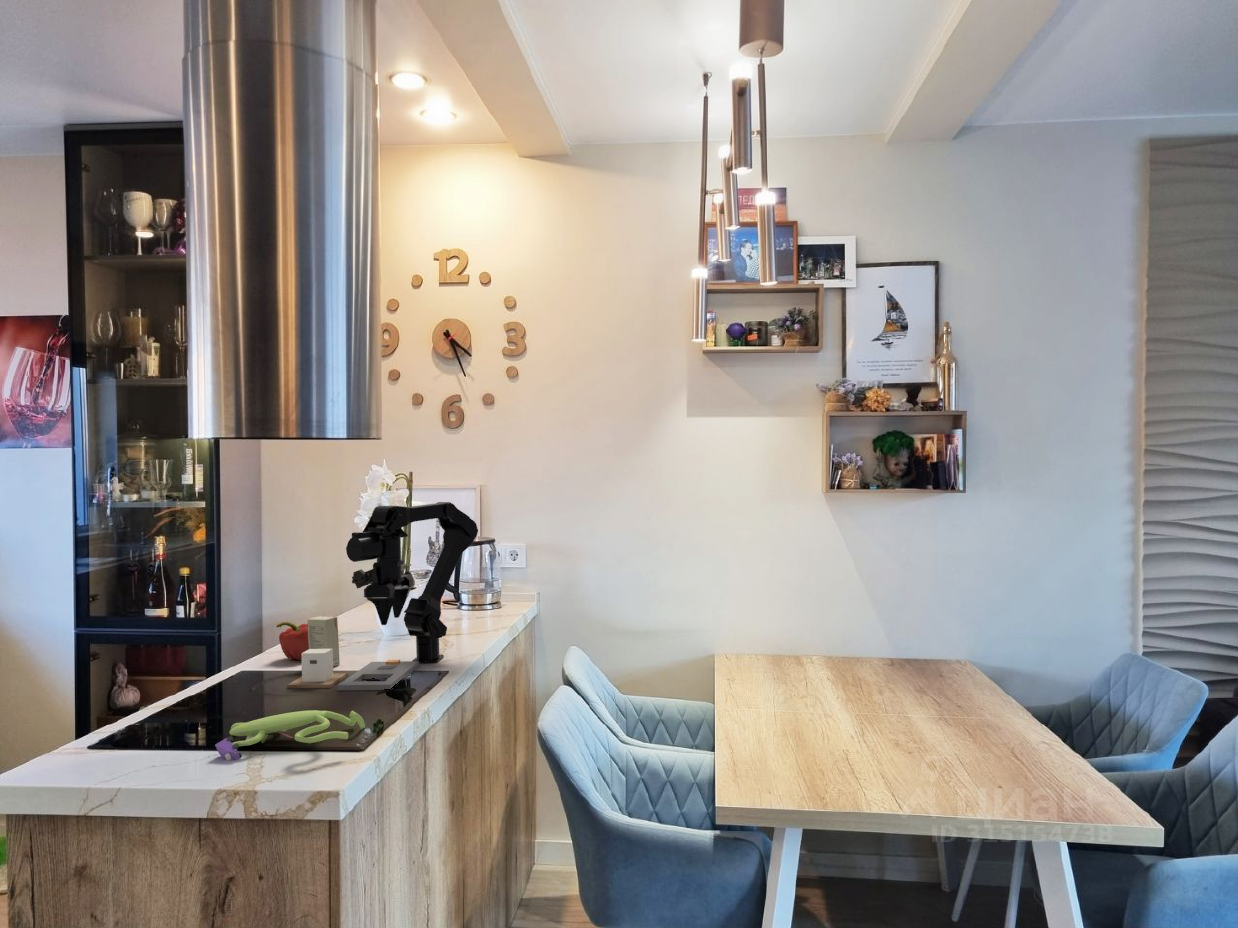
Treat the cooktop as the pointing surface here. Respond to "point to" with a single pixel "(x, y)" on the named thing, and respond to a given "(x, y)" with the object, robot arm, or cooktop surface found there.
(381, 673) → the grey slotted tray
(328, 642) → the skincare box
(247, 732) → the figurine
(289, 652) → the vegetable
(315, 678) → the block
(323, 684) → the walnut coaster
